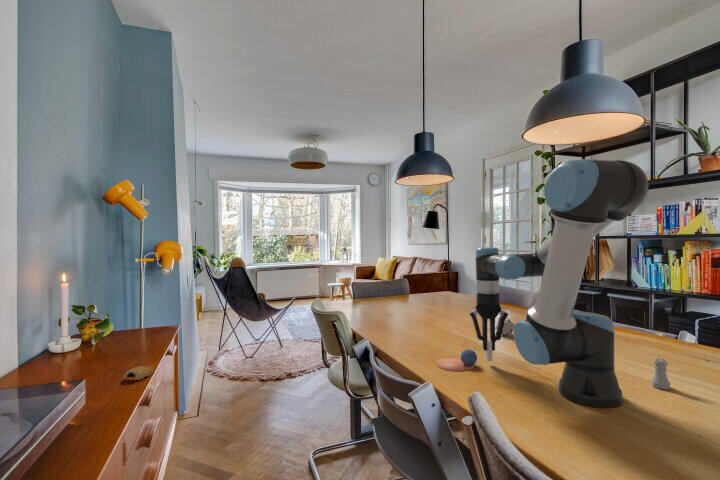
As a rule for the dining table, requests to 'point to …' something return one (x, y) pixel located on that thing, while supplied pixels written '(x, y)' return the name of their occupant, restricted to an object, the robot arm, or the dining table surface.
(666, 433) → the dining table surface
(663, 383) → the rook chess piece
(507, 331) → the game die
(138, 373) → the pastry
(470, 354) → the ball
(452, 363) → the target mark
